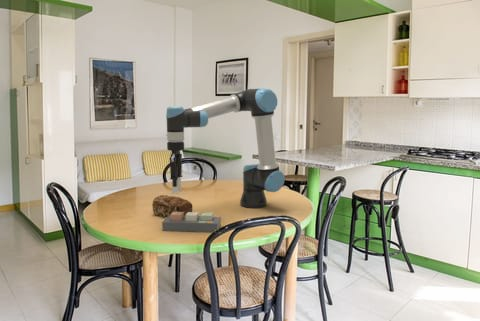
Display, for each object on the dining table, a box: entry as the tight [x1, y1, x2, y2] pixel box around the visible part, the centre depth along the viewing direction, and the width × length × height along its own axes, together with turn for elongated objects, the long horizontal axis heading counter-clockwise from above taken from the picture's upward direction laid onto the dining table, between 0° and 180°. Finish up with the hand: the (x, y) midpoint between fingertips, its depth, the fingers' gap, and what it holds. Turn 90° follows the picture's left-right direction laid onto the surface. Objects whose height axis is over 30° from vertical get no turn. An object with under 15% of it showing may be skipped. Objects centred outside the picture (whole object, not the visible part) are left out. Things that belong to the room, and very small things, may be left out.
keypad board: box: [161, 215, 222, 233], centre depth 186 cm, size 25×11×4 cm, turn 85°
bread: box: [152, 194, 193, 219], centre depth 205 cm, size 19×11×10 cm, turn 57°
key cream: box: [185, 211, 199, 221], centre depth 185 cm, size 5×5×4 cm
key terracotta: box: [170, 212, 184, 221], centre depth 186 cm, size 5×5×4 cm
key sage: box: [200, 212, 214, 222], centre depth 185 cm, size 5×5×4 cm
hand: (176, 192), depth 184 cm, fingers open, 4 cm apart
